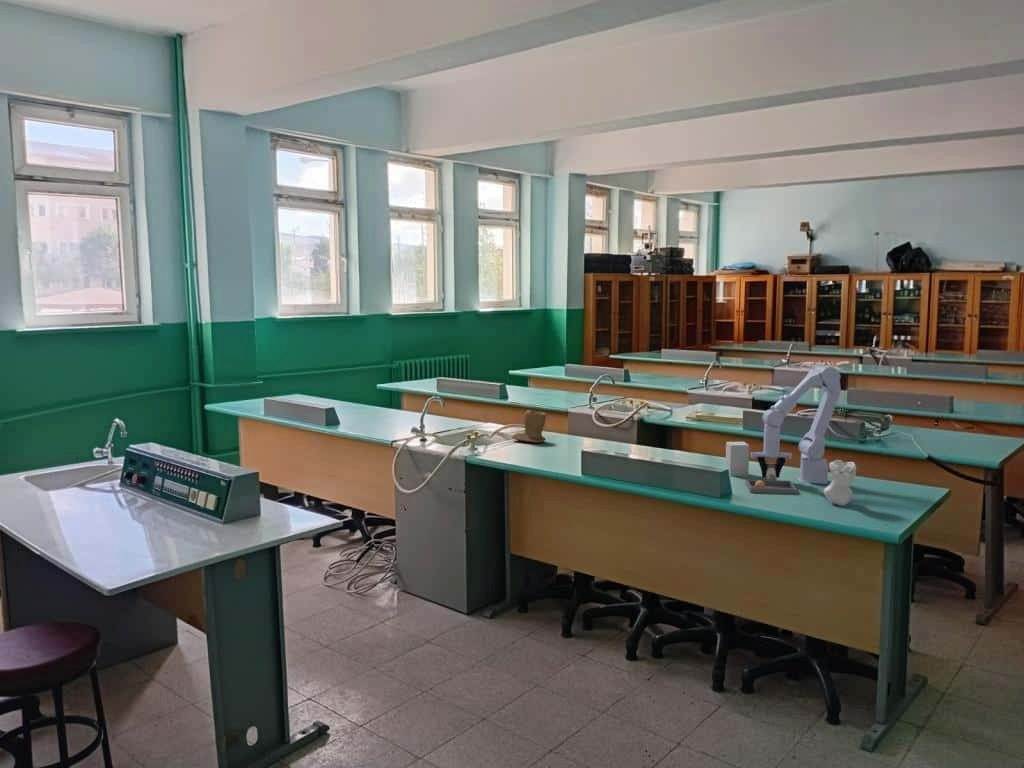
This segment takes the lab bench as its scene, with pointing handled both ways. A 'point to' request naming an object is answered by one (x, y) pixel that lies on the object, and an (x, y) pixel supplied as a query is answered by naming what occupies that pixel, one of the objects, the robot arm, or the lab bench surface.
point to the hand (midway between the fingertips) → (770, 477)
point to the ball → (760, 484)
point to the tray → (772, 487)
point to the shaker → (770, 471)
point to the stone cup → (532, 427)
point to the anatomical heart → (841, 482)
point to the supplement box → (737, 458)
